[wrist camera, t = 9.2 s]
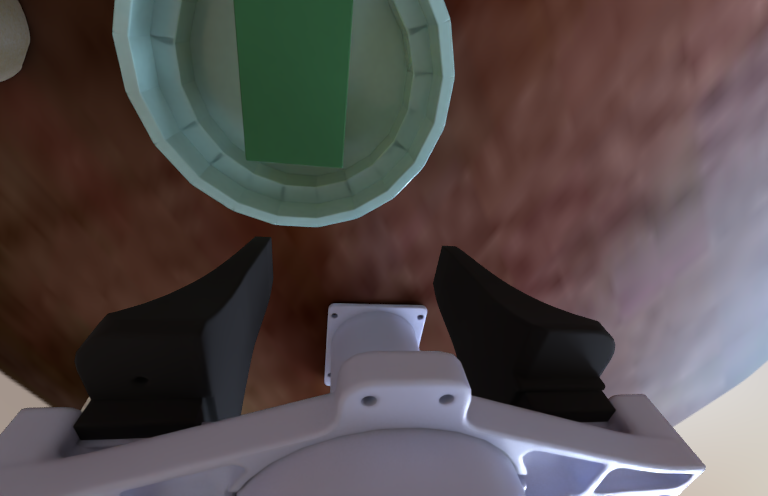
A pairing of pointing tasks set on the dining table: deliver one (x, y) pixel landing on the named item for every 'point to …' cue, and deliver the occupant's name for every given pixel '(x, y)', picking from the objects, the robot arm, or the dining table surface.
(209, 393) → the robot arm
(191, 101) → the bowl
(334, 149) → the sponge
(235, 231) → the dining table surface
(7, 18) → the flower pot
